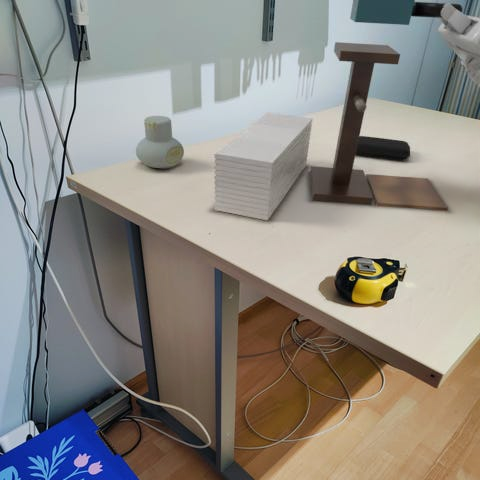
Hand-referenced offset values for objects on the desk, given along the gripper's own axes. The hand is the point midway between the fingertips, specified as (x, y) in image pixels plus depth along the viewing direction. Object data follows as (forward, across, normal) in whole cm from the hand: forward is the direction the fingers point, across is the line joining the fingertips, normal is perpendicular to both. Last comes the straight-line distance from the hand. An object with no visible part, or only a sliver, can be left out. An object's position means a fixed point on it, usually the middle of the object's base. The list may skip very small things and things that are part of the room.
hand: (440, 7), depth 71 cm
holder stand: (-7, 0, -34) cm, 34 cm away
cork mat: (-19, 0, -27) cm, 33 cm away
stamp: (+3, 0, -5) cm, 6 cm away
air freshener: (+29, +7, -54) cm, 62 cm away
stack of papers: (+7, -2, -42) cm, 42 cm away
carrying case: (-18, +26, -27) cm, 42 cm away
